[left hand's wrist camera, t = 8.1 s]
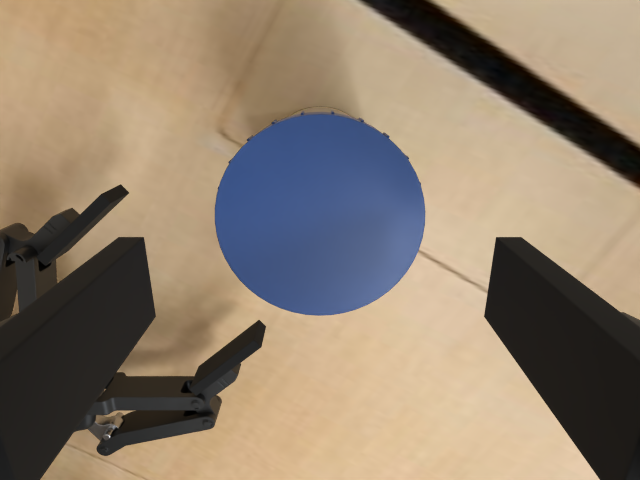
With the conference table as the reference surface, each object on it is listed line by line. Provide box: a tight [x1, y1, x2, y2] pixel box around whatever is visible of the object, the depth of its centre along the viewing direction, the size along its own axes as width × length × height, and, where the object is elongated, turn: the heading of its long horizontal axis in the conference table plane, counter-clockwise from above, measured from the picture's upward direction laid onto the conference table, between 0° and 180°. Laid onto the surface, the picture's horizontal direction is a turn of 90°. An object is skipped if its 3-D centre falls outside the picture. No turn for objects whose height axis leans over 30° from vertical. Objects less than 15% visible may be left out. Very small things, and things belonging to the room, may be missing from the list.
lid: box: [215, 110, 425, 315], centre depth 19 cm, size 9×9×2 cm
